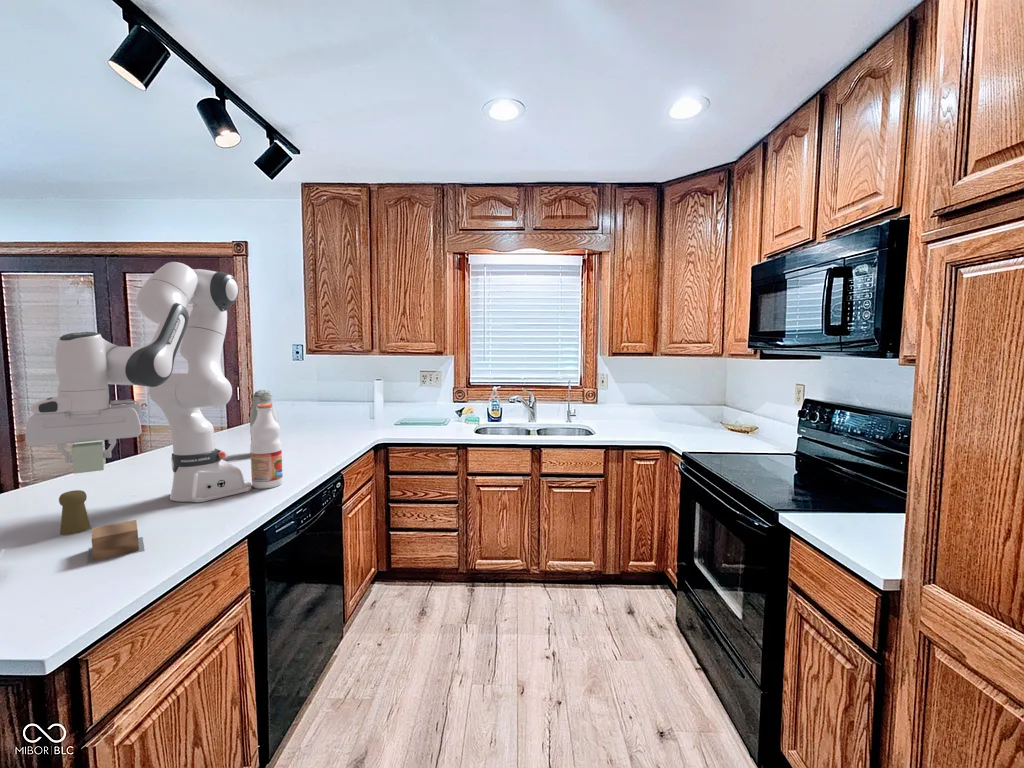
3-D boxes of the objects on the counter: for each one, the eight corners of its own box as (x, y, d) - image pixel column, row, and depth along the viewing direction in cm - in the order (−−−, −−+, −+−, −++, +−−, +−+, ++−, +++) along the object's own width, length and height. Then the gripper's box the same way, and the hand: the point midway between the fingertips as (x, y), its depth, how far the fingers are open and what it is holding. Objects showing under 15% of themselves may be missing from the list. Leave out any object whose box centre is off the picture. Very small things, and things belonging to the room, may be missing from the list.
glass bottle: (246, 455, 203) (243, 390, 200) (268, 450, 212) (266, 388, 209) (261, 457, 198) (258, 391, 196) (283, 452, 208) (280, 389, 205)
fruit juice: (250, 483, 164) (247, 403, 161) (280, 479, 169) (277, 401, 166) (253, 491, 156) (249, 407, 153) (284, 486, 161) (281, 404, 158)
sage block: (104, 463, 116) (102, 439, 116) (103, 470, 111) (101, 444, 110) (75, 467, 113) (74, 442, 112) (73, 473, 108) (71, 447, 107)
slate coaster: (142, 539, 118) (142, 536, 118) (144, 554, 110) (144, 550, 110) (89, 551, 111) (88, 548, 111) (87, 567, 104) (87, 563, 104)
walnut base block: (137, 539, 116) (136, 519, 116) (139, 550, 110) (137, 529, 110) (94, 548, 111) (92, 527, 111) (93, 560, 105) (91, 538, 105)
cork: (97, 528, 125) (94, 487, 124) (77, 538, 119) (74, 495, 118) (74, 528, 125) (70, 487, 124) (52, 538, 119) (48, 495, 117)
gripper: (140, 397, 119) (144, 451, 121) (25, 403, 107) (30, 463, 108) (141, 400, 115) (145, 456, 116) (20, 406, 102) (26, 469, 103)
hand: (89, 459), depth 112 cm, fingers closed on sage block, 5 cm apart
